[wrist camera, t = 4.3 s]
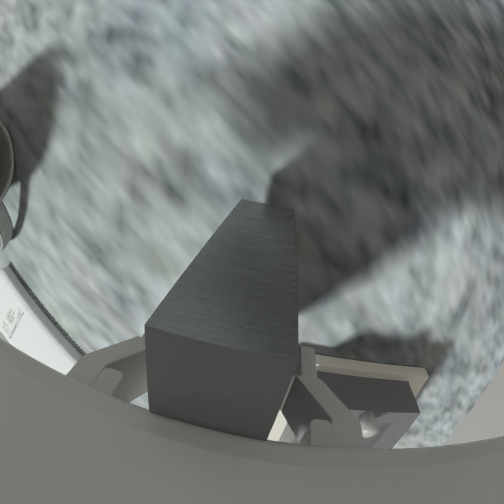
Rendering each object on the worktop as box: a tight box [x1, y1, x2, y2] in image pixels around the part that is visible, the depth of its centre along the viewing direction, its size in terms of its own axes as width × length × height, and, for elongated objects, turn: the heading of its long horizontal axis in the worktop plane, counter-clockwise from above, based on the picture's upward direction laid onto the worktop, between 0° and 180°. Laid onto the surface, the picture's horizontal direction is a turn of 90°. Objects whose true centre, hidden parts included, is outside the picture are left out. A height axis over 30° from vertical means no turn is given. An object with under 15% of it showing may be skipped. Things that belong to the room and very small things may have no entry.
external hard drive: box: [0, 266, 82, 375], centre depth 21 cm, size 2×8×12 cm
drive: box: [145, 199, 299, 441], centre depth 10 cm, size 8×2×10 cm, turn 170°
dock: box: [267, 354, 429, 449], centre depth 18 cm, size 14×10×5 cm
